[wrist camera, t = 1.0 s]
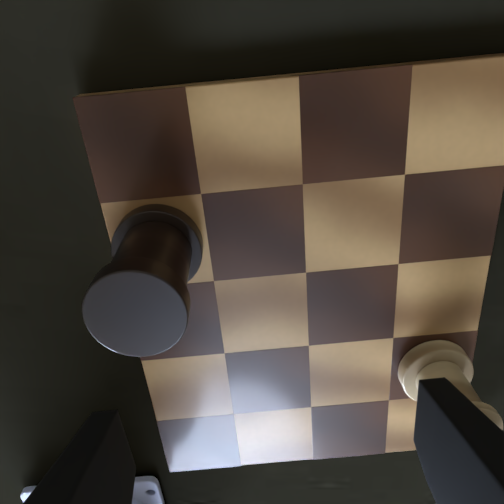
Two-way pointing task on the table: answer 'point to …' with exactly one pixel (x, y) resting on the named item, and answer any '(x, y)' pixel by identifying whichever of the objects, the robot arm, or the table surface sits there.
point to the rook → (145, 282)
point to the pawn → (442, 372)
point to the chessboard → (309, 245)
